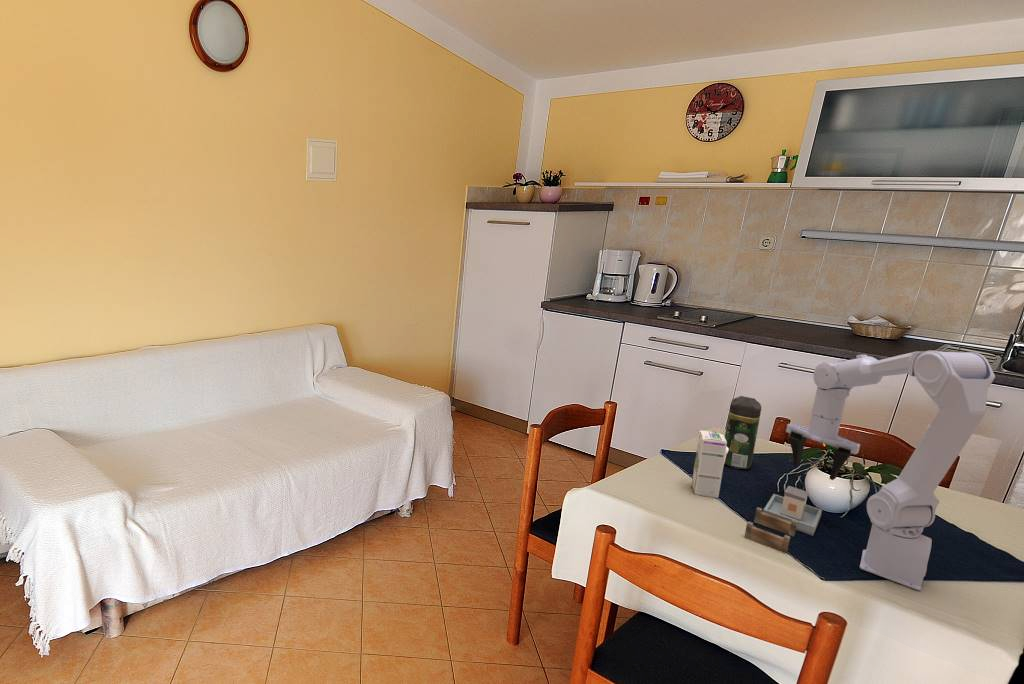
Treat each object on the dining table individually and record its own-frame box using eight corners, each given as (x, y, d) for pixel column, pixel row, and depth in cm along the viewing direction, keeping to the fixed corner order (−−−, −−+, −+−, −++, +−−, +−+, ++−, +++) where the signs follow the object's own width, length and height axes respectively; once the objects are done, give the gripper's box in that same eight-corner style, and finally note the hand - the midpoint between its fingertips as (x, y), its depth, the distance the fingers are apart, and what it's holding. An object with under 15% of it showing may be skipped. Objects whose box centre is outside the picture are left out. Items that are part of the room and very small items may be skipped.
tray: (820, 517, 121) (822, 509, 120) (813, 536, 113) (815, 527, 112) (772, 501, 127) (773, 493, 126) (761, 517, 119) (763, 509, 118)
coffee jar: (722, 453, 153) (732, 392, 149) (751, 460, 150) (763, 397, 146) (718, 465, 145) (730, 400, 141) (750, 473, 141) (762, 407, 137)
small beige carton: (803, 516, 120) (808, 491, 118) (799, 523, 116) (805, 498, 115) (783, 509, 122) (788, 485, 121) (779, 516, 119) (784, 491, 118)
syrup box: (718, 498, 126) (729, 441, 123) (693, 494, 127) (702, 437, 124) (714, 487, 131) (724, 432, 128) (690, 483, 132) (699, 429, 129)
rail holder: (794, 534, 113) (797, 521, 112) (786, 553, 105) (789, 538, 105) (755, 520, 117) (757, 507, 117) (744, 536, 110) (747, 523, 109)
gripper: (785, 408, 121) (774, 463, 124) (857, 429, 110) (843, 489, 113) (797, 403, 125) (786, 457, 128) (867, 423, 115) (854, 481, 118)
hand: (814, 471), depth 121 cm, fingers open, 7 cm apart
